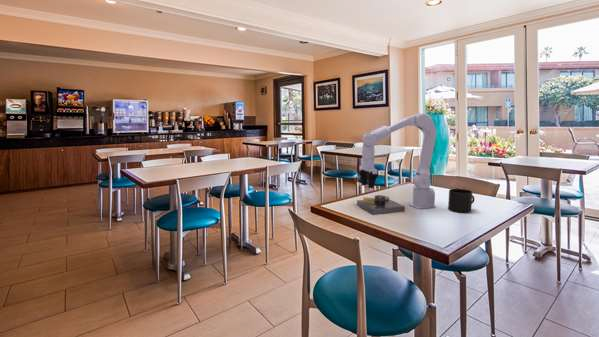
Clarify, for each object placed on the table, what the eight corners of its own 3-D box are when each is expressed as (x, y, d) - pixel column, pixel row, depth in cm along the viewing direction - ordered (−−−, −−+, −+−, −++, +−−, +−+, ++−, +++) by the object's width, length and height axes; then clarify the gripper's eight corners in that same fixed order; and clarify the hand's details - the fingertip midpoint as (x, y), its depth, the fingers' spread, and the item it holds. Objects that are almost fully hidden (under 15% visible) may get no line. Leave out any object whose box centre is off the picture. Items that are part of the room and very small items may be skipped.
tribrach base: (386, 202, 161) (386, 194, 160) (404, 211, 145) (404, 202, 145) (356, 205, 156) (357, 196, 156) (372, 214, 141) (372, 205, 140)
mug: (481, 212, 143) (482, 192, 141) (457, 213, 141) (458, 193, 139) (466, 206, 152) (467, 187, 151) (443, 208, 150) (444, 189, 148)
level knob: (385, 201, 152) (385, 195, 152) (385, 204, 147) (385, 197, 147) (363, 200, 155) (363, 194, 154) (363, 203, 150) (363, 196, 150)
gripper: (354, 157, 159) (353, 184, 161) (367, 160, 145) (367, 190, 147) (366, 156, 161) (366, 183, 163) (381, 160, 147) (380, 189, 149)
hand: (367, 186), depth 155 cm, fingers open, 6 cm apart
